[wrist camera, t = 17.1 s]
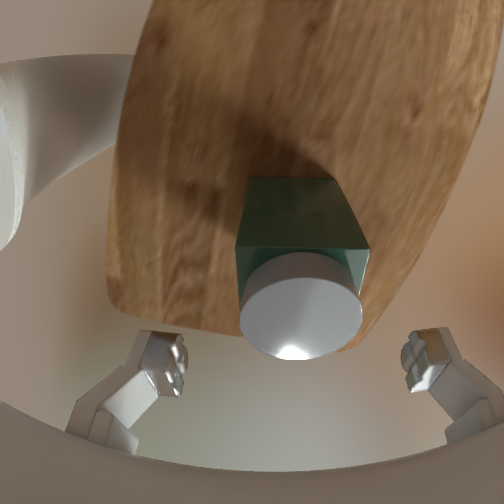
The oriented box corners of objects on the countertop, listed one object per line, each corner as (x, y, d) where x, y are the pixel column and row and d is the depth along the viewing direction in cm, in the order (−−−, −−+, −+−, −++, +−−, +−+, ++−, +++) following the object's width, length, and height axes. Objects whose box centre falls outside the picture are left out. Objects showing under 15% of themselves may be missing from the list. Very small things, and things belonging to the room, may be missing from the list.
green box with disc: (351, 360, 15) (381, 273, 11) (238, 360, 15) (229, 271, 11) (327, 250, 23) (336, 179, 20) (252, 248, 24) (250, 176, 20)
